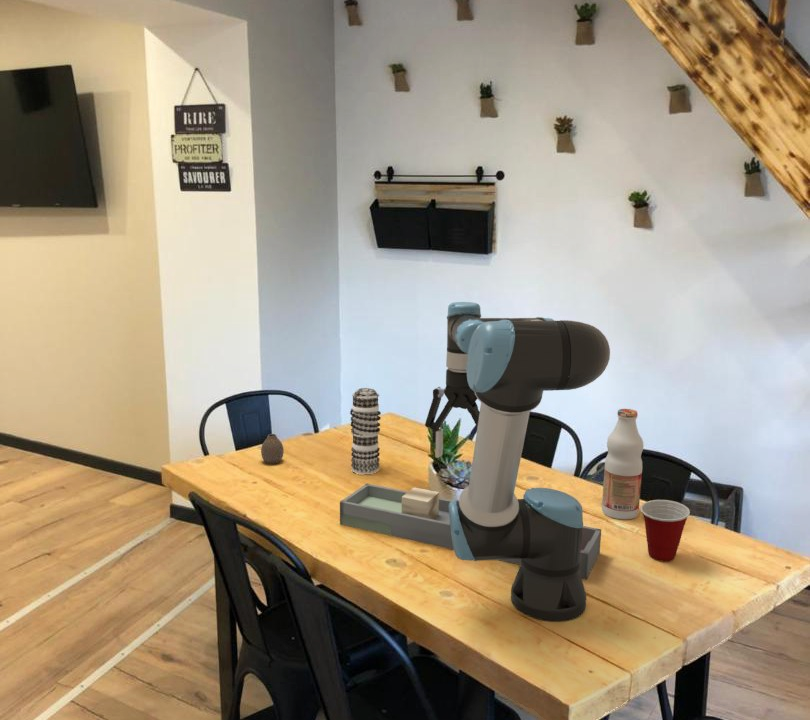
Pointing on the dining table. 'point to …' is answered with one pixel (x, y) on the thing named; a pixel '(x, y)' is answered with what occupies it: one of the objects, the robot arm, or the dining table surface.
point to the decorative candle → (365, 431)
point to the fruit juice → (623, 468)
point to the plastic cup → (664, 527)
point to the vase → (272, 449)
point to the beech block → (421, 503)
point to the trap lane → (428, 522)
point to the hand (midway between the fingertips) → (459, 459)
